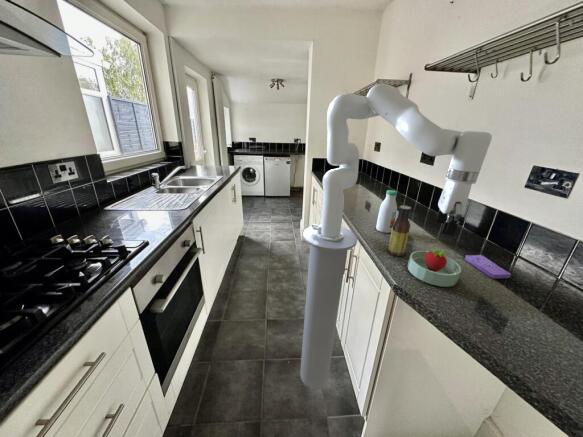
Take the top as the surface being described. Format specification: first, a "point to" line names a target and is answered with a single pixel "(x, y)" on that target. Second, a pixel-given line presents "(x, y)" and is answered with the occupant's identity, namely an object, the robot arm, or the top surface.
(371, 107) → the robot arm
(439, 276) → the bowl
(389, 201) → the milk bottle
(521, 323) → the top surface
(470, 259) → the sponge
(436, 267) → the strawberry
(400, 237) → the sauce bottle
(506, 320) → the top surface
